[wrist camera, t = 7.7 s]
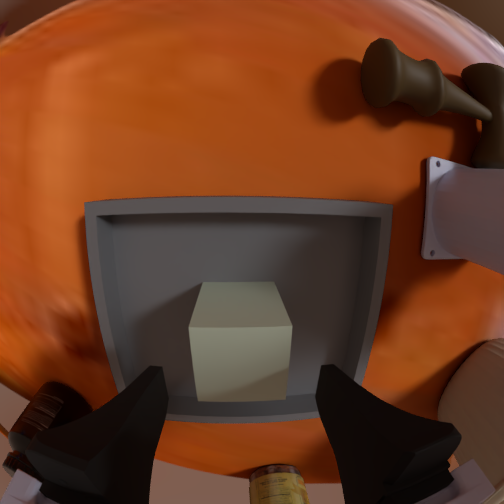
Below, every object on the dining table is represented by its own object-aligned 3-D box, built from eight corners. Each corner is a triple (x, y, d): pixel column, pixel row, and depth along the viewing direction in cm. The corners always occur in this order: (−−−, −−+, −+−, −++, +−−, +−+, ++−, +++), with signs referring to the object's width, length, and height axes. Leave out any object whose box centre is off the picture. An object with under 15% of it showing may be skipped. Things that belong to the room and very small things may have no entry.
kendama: (348, 33, 15) (502, 100, 16) (354, 143, 17) (508, 183, 18) (378, -4, 9) (539, 94, 10) (397, 130, 12) (548, 189, 12)
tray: (370, 201, 17) (392, 204, 15) (341, 389, 21) (352, 411, 18) (105, 199, 16) (84, 202, 13) (135, 391, 20) (125, 414, 17)
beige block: (273, 281, 17) (292, 325, 12) (271, 341, 18) (285, 399, 13) (202, 282, 17) (188, 327, 11) (206, 342, 18) (197, 401, 12)
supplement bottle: (39, 397, 20) (-8, 464, 8) (50, 368, 19) (-11, 446, 7) (87, 433, 21) (53, 509, 10) (105, 411, 20) (64, 503, 9)
